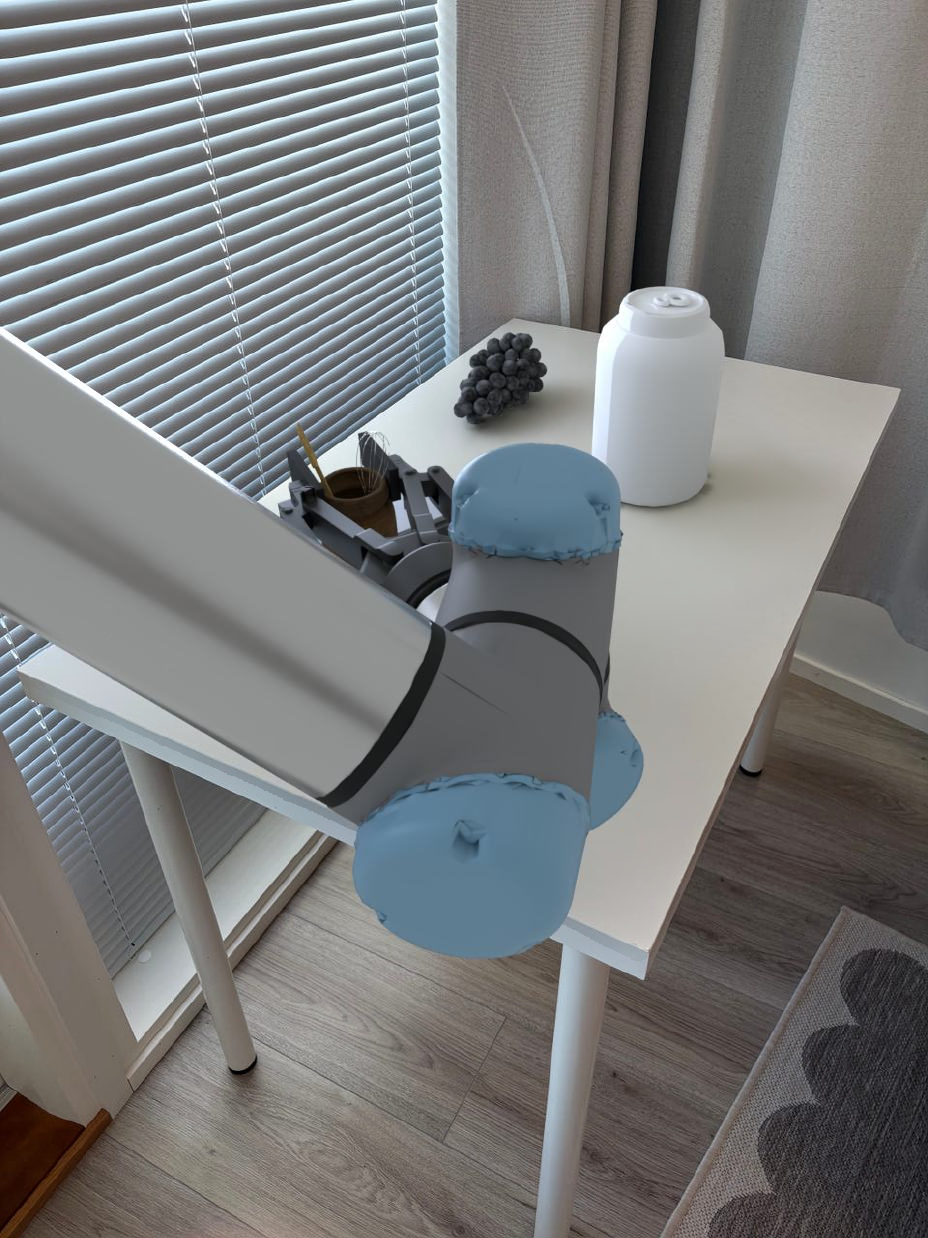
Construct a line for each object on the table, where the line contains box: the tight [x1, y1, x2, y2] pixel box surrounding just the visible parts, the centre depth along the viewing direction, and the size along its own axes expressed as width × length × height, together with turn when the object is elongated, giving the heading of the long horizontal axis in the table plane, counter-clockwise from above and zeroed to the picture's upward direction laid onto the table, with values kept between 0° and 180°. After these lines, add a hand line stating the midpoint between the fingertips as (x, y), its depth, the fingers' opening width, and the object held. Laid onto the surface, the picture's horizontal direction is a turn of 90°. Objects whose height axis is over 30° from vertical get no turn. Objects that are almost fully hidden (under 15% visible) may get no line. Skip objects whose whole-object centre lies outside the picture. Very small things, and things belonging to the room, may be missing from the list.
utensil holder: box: [296, 422, 398, 569], centre depth 71 cm, size 6×6×12 cm
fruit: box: [453, 331, 548, 425], centre depth 116 cm, size 9×8×15 cm
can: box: [591, 285, 726, 508], centre depth 97 cm, size 12×12×20 cm
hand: (329, 456), depth 74 cm, fingers closed on utensil holder, 5 cm apart
